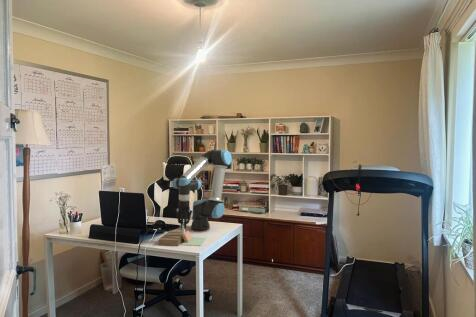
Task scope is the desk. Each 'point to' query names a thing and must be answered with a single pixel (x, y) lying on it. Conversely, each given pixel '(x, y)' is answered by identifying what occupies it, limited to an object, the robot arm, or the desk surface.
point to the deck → (172, 238)
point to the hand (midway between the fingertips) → (183, 233)
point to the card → (187, 236)
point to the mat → (195, 241)
